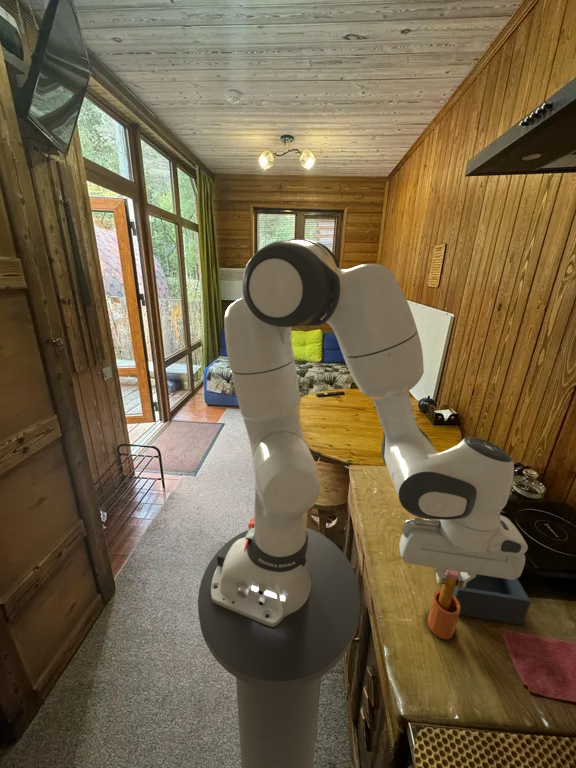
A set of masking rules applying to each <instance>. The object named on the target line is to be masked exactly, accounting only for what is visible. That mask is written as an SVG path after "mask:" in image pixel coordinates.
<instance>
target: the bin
mask: <svg viewBox="0 0 576 768" xmlns="http://www.w3.org/2000/svg"><path fill="white" fill-rule="evenodd" d="M444 570H445V572H446V571H447V569H444ZM458 572H459V571H458ZM459 573H460V572H459ZM441 585H443V584H441ZM453 596H455V598H456V599H457V600H458V601H459V604H460V606H461V609H460V614H459V615H461V616H467V617H474V618H479V619H486V620H492V621H498V622H503V623H509V624H515V625H520V626H522V625H523V622H524V620H525V617H526V616H527V614H528V610H529V608H530V605H531V599H530V597H529V595H528V594H527V592H526V590H525V589H524V587H523V585H522V583H521V581H519V578H516V579H514V580H510V579H504V578H498V577H491V576H485V575H479V574H477V575H476V577H475V578H473V579H472V580H470V581H468V582H467V584H466V587H465V588H464V587H459V586H455V589H454V592H453Z"/></svg>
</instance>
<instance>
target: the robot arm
mask: <svg viewBox="0 0 576 768" xmlns="http://www.w3.org/2000/svg"><path fill="white" fill-rule="evenodd" d="M241 286H242V295H243V297H240V298H239V299H236V300H234V302H232V303H231V304H230V305H229V306H228V307H227V309H226V310H225V313H224V318H223V321H224V323H223V324H224V340H225V347H226V354H227V360H228V365H229V369H230V373H231V378H232V381H233V386H234V390H235V394H236V398H237V399H236V400H237V402H238V407H239V410H240V414H241V416H242V419H243V423H244V427H245V429H246V434H247V437H248V441H249V445H250V451H251V458H252V465H253V474H254V475H253V476H254V503H253V517H252V518H250V519H249V523H248V525H247V527H248V530H249V529H250V530H249V531H248V532H247V535H246V537H244V538H241V539H238V540H237V541H236V542H235V543H234V544H233V545H232V544H228V543H227V542H225V543H224V544H223V545H222V547H223V548H222V549H221V551H220V552H219V554H218V555H217V561H218V566H217V569H216V571H215V574H214V576H213V580H212V584H211V599H212V602H214V603H215V604H218V605H220V606H222V607H225V608H227V609H229V610H232V611H234V612H237V613H239V614H241V615H244V616H246V617H248V618H251V619H253V620H256V621H258V622H260V623H263V624H265V625H268V626H270V627H274V626H276V625H277V624H279V623H280V622H281V620H282V619H283V618H284V617H285V616H287V615H289V614H291V613H293V612H295V611H297V610H298V609H299V608H301V607H302V606H303V605H304V603H305V602H306V601H307V599H308V597H309V595H310V591H311V579H310V576H309V573H308V569H307V562H306V561H307V557H308V534H307V531H306V529H307V528H308V527H307V526H308V511H309V510H311V509H312V508H313V507H314V505H316V502H317V501H318V499H319V497H320V491H321V487H320V477H319V472H318V466H317V464H316V461H315V459H314V457H313V454H312V453H311V451H310V448H309V446H308V444H307V441H306V439H305V436H304V433H303V429H302V424H301V405H300V404H301V399H302V398H301V393H300V385H299V380H298V379H299V378H298V373H297V367H296V361H295V355H294V350H293V344H292V328H299V327H318V326H323V325H325V324H328V325H329V326H330V328H331V330H332V331H333V333H334V335H335V337H336V340H337V344H338V345H339V348H340V352H341V354H342V357H343V360H344V363H345V365H346V367H347V369H348V372H349V374H350V376H351V378H352V379H353V381H354V383H355V384H356V386H357V388H358V390H359V391H360V393H361V394H363V395H364V396H366V397H368V398H370V399H371V400H372V402H373V404H374V408H375V411H376V413H377V416H378V419H379V422H380V425H381V426H380V427H381V429H382V441H381V448H380V449H381V450H380V451H381V452H380V453H381V459H382V461H383V464H384V465H385V467H386V469H387V471H388V474H389V476H390V479H391V482H392V484H393V488H394V490H395V493H396V495H397V497H398V500H399V503H400V504H401V506H402V507H403V509H404V510H405V511H406V512H408V513H409V514H411V515H412V516H414V517H412V518H410V519H407V520H405V521H403V525H402V530H401V533H402V534H401V537H400V539H399V543H398V549H399V554H400V557H401V559H402V560H403V562H404V563H406V564H408V565H409V564H410V565H416V566H423V567H427V568H434V570H435V579H436V582H437V584H441V585H442V584H447V580H448V578H447V575H446V572H445V570H444V569H447V570H453V571H459V572H460V573H459V575H458V579H457V582H456V586H459V587H464V588H465V587H466V584H467V582H468V581H470V580H472V579H473V578H475V577H476V575H477V574H479V575H485V576H491V577H498V578H504V579H510V580H514V579H516V578H517V579H519V578H520V577H521V576H522V573H523V571H524V567H525V565H526V555H525V554H526V552H527V551H528V549H529V546H528V544H527V541H526V540H525V539H524V537H523V535H522V534H521V532H520V531H519V530H518V528H517V527H516V525H515V524H514V523H513V522H512V521H511V520H510V519H509V518H508V517H506V516H504V515H501V512H502V510H503V509H504V508H505V507H506V505H507V503H508V501H509V497H510V494H511V491H512V487H513V483H514V477H515V464H514V460H513V459H512V457H511V456H510V455H509V454H508V453H507V452H506V451H505V450H504V449H502V448H501V447H500V446H498V445H497V444H494V443H493V442H491V441H488V440H486V439H483V438H479V437H476V436H475V437H474V436H473V437H471V436H467V437H464V438H463V439H461V441H459V443H457V444H456V445H454V446H452V447H450V448H448V449H445V450H443V451H439V452H438V451H437V450H436V448H435V446H434V444H433V442H432V441H431V439H430V437H429V436H428V435H427V434H426V433H425V431H423V430H422V429H421V428H420V427H419V425H418V423H417V420H416V417H415V414H414V410H413V407H412V402H411V399H410V394H409V391H411V390H412V389H414V387H416V386H417V385H418V383H419V382H420V380H421V379H422V378H423V375H424V353H423V348H422V343H421V338H420V335H419V332H418V327H417V324H416V321H415V317H414V315H413V313H412V310H411V309H412V308H411V307H410V304H409V302H408V299H407V297H406V295H405V293H404V291H403V289H402V287H401V285H400V283H399V281H398V279H397V277H396V276H395V274H394V272H393V271H392V270H391V268H389V267H388V266H386V265H383V264H379V263H363V264H359V265H356V266H353V267H351V268H346V269H345V268H344V269H342V268H340V265H339V262H338V259H337V258H336V256H335V254H334V253H333V251H332V250H331V249H329V248H328V247H327V246H326V245H325V244H322V243H321V242H317V241H313V240H309V239H306V238H291V239H287V240H277V241H273V242H270V243H269V244H267V245H265V246H263V247H261V248H260V249H259V250H257V252H256V253H255V252H254V254H253V255H252V256H251V258H250V259H249V261H248V262H247V264H246V267H245V268H244V271H243V275H242V285H241ZM214 588H217V589H214ZM266 616H269V618H266Z"/></svg>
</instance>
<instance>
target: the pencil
mask: <svg viewBox="0 0 576 768" xmlns="http://www.w3.org/2000/svg"><path fill="white" fill-rule="evenodd" d="M446 575H447V578H448V580H447V584H443V585H442V584H441V585H442V586H441V589H440V590H441V593H440V596H439V600H438V604H439V606H440V607H441V608H442V609H444V610H445V611H448V610H449V606H450V603H451V599H452V596H453V592H454V589H455V586H456V582H457V579H458V575H459V572H458V571H453V570H447V571H446Z"/></svg>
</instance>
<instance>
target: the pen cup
mask: <svg viewBox="0 0 576 768" xmlns="http://www.w3.org/2000/svg"><path fill="white" fill-rule="evenodd" d="M440 593H441V589H439V590H437V591H435V592H433V596H432V599H431V600H432V601H431V604H430V609H429V613H428V617H427V625H428V628H429V629H430V631H431V632H432V633H433V634H434V635H435V636H436V637H438V638H440V639H442V640H449V639H452V637H453V636H454V634H455V630H456V627H457V624H458V620H459V617H460V615H461V614H460V609H461V606H460V604H459V601H458V600H457V599H456V598H455V596H452V599H451V603H450V606H449V610H448V611H445V610H444V609H442V608H441V607H440V606H439V604H438V600H439V596H440Z"/></svg>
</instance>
